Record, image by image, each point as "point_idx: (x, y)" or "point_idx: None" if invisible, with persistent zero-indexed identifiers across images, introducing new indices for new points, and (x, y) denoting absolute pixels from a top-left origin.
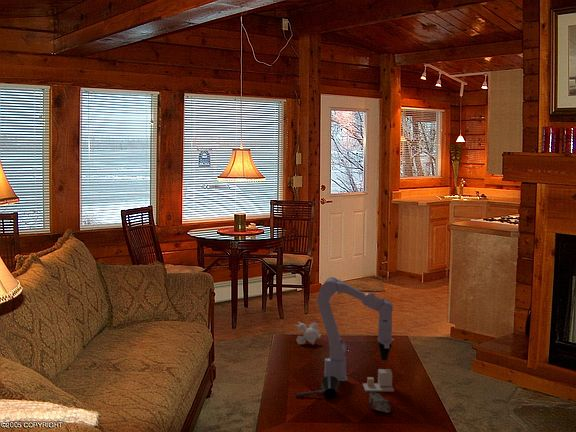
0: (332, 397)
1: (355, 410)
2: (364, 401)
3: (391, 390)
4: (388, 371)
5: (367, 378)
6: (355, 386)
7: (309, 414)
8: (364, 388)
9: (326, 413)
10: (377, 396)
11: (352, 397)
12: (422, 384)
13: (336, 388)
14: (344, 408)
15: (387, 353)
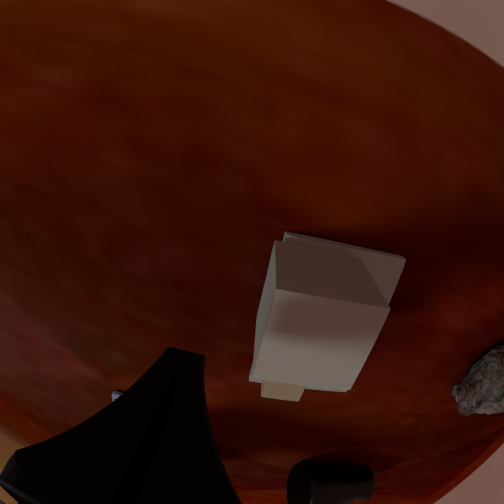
0: (358, 468)
1: (469, 424)
2: (435, 402)
3: (400, 274)
4: (335, 324)
5: (276, 396)
6: (264, 404)
7: (420, 487)
8: (315, 387)
9: (438, 468)
10: (501, 393)
11: (381, 429)
12: (318, 8)
13: (350, 483)
14: (441, 444)
15: (204, 430)
